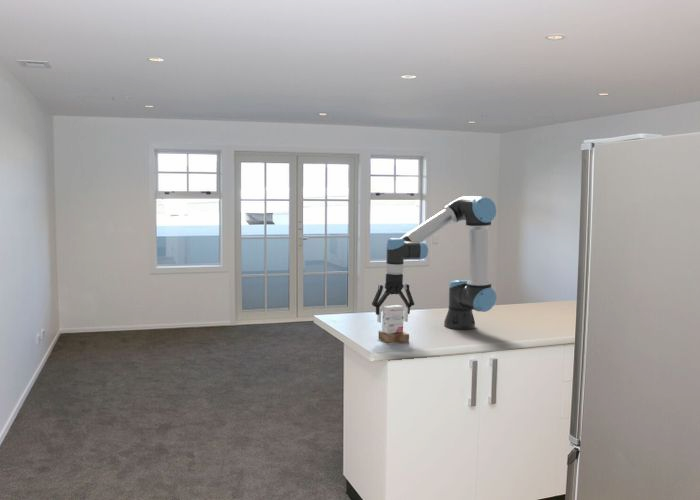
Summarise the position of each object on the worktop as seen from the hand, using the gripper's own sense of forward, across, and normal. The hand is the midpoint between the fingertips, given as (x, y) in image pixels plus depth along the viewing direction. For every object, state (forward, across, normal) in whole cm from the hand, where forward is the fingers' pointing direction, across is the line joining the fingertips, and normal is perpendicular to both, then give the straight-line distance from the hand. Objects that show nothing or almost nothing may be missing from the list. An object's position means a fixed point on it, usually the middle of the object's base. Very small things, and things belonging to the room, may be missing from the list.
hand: (392, 321), depth 299 cm
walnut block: (+9, -1, +1) cm, 9 cm away
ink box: (+5, 0, 0) cm, 5 cm away
